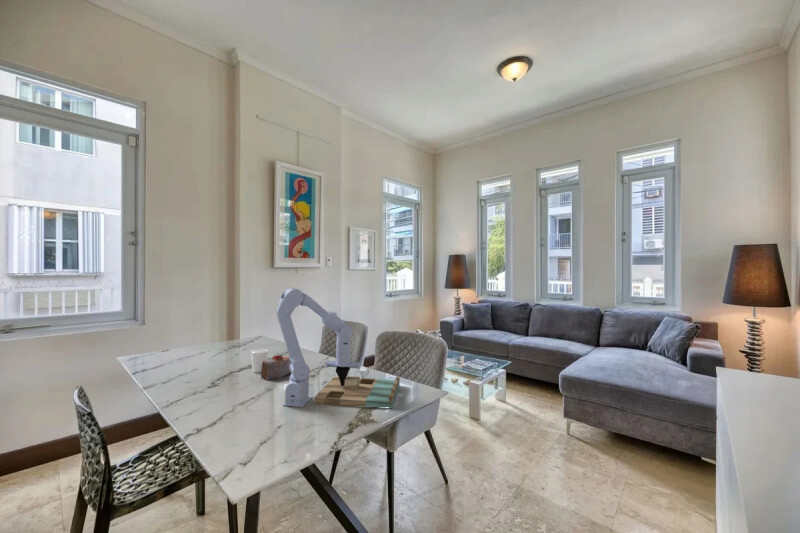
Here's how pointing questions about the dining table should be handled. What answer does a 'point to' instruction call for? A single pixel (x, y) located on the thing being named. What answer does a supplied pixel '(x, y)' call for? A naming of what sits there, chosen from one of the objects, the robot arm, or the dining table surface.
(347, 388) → the block
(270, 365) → the food item
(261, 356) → the white cup
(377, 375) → the dining table surface
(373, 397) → the track
